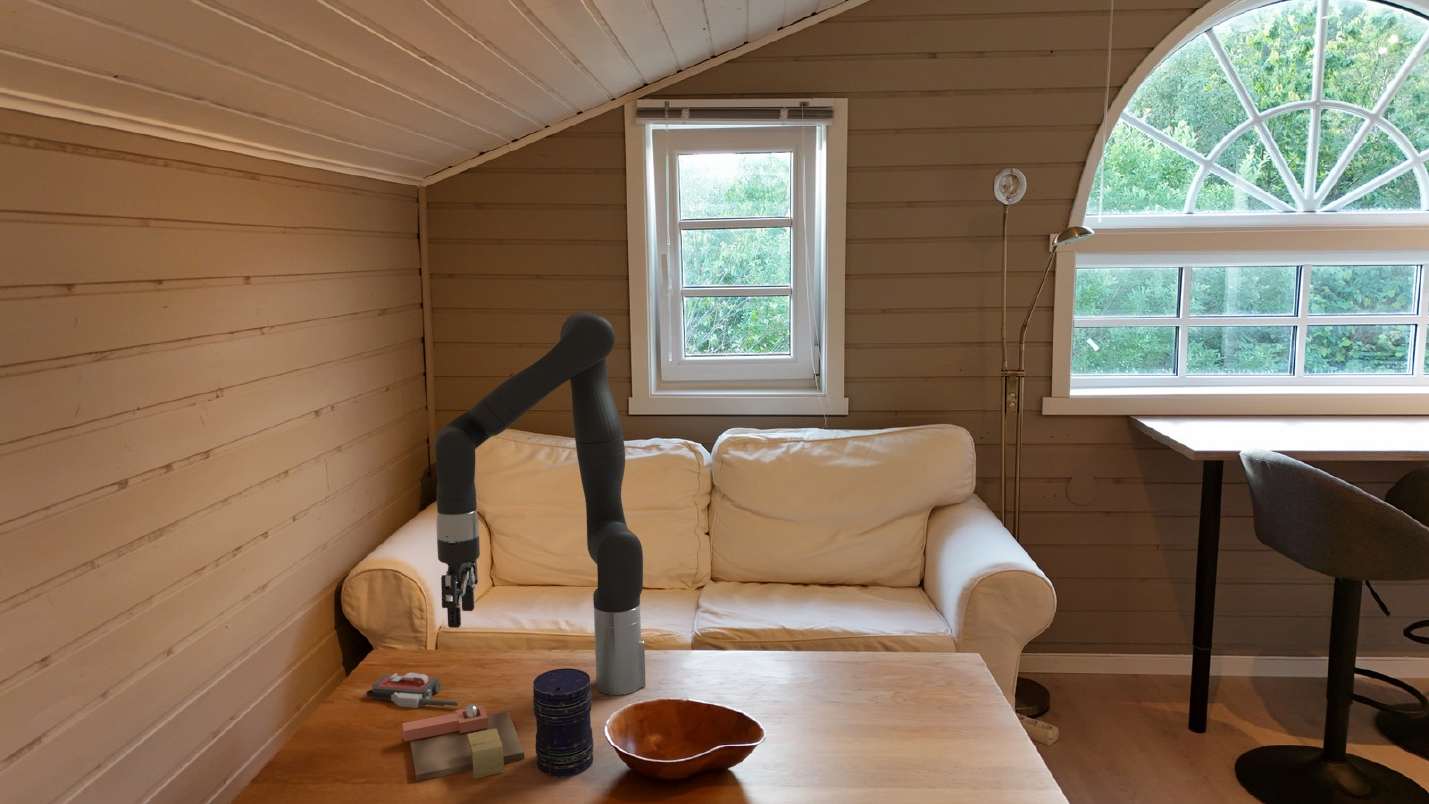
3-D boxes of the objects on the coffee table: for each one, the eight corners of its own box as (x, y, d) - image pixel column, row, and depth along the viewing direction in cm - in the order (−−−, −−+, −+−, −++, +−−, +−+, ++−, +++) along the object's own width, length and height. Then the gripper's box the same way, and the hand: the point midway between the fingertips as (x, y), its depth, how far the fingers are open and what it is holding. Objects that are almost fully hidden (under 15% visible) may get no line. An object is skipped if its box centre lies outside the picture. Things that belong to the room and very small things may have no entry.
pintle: (477, 728, 176) (475, 703, 175) (478, 733, 174) (477, 707, 173) (467, 730, 175) (465, 705, 174) (468, 735, 173) (466, 709, 173)
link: (484, 715, 178) (483, 705, 177) (488, 727, 173) (487, 717, 173) (402, 731, 172) (402, 720, 172) (404, 744, 168) (404, 733, 167)
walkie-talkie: (360, 705, 186) (455, 713, 182) (358, 684, 185) (454, 692, 181) (383, 685, 194) (475, 692, 191) (382, 664, 194) (474, 671, 190)
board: (508, 716, 180) (508, 710, 180) (524, 758, 165) (524, 752, 165) (408, 736, 173) (408, 730, 173) (416, 781, 159) (416, 775, 158)
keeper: (497, 753, 167) (496, 728, 166) (504, 772, 161) (502, 746, 160) (468, 759, 165) (467, 734, 164) (474, 778, 159) (472, 752, 158)
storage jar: (543, 746, 169) (539, 667, 167) (598, 746, 169) (595, 667, 166) (530, 778, 159) (526, 694, 157) (589, 778, 159) (585, 694, 156)
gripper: (450, 524, 183) (453, 605, 185) (424, 545, 169) (429, 632, 171) (488, 524, 182) (491, 605, 185) (466, 545, 168) (470, 633, 170)
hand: (461, 618), depth 178 cm, fingers open, 8 cm apart
